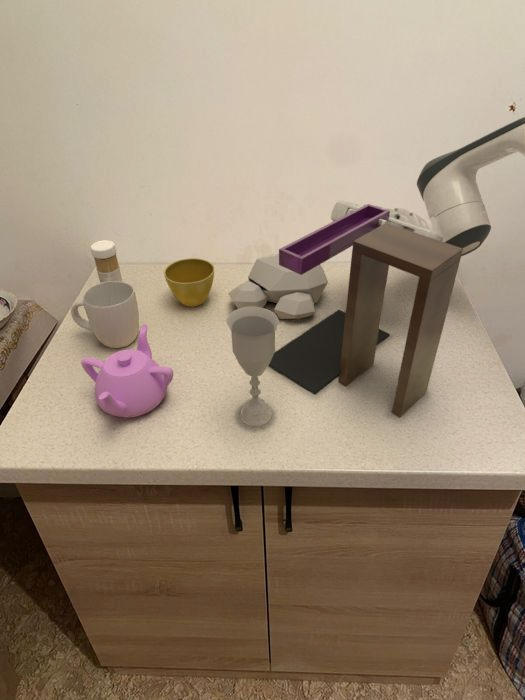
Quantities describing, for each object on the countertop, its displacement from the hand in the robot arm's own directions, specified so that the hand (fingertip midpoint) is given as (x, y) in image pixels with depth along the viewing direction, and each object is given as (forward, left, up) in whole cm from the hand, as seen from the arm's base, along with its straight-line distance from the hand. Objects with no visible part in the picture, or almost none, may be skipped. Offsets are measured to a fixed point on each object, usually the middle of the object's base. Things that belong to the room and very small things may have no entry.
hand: (364, 219), depth 82 cm
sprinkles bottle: (+47, -13, -23) cm, 54 cm away
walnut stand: (-2, +16, -23) cm, 28 cm away
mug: (+46, -1, -23) cm, 52 cm away
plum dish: (+5, +5, -2) cm, 7 cm away
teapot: (+39, +16, -23) cm, 48 cm away
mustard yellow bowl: (+31, -13, -23) cm, 41 cm away
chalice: (+19, +21, -23) cm, 36 cm away
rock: (+13, -12, -23) cm, 29 cm away
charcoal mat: (+5, +5, -23) cm, 24 cm away
